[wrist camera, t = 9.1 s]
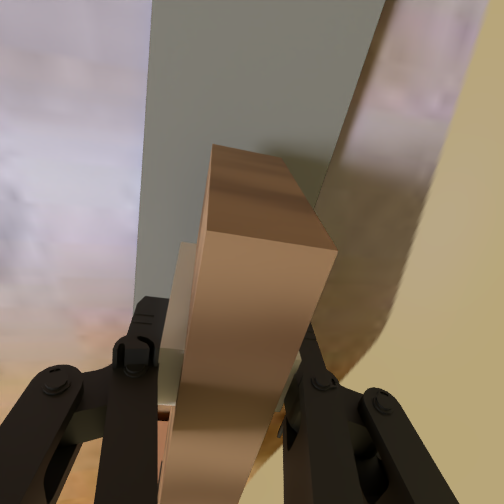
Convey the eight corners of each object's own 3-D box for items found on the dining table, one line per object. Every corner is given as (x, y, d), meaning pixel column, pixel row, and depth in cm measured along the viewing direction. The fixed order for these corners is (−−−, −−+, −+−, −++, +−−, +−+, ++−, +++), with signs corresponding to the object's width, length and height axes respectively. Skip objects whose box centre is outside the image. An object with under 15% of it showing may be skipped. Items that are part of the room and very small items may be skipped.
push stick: (210, 143, 14) (201, 229, 7) (283, 158, 14) (342, 251, 8) (161, 455, 25) (140, 607, 18) (204, 457, 26) (199, 604, 19)
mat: (163, -130, 12) (160, -138, 11) (396, -48, 13) (403, -52, 13) (129, 390, 25) (127, 398, 25) (245, 398, 27) (246, 405, 26)
